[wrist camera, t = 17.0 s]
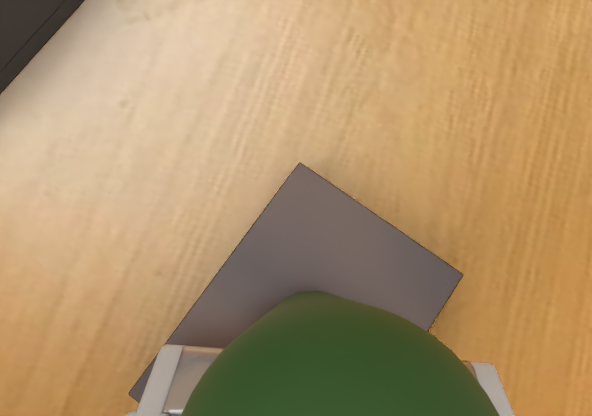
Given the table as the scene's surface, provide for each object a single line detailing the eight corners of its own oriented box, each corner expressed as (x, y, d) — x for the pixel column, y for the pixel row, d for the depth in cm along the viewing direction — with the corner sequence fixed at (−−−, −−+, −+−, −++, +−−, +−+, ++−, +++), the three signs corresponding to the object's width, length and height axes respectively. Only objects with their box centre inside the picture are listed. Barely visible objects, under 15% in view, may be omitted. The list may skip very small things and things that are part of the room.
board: (299, 515, 20) (300, 533, 18) (139, 386, 21) (127, 394, 20) (453, 275, 22) (464, 274, 20) (299, 169, 23) (299, 161, 22)
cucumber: (326, 428, 17) (447, 1131, 3) (237, 358, 17) (-28, 659, 3) (388, 334, 18) (738, 528, 4) (301, 269, 18) (300, 215, 4)
